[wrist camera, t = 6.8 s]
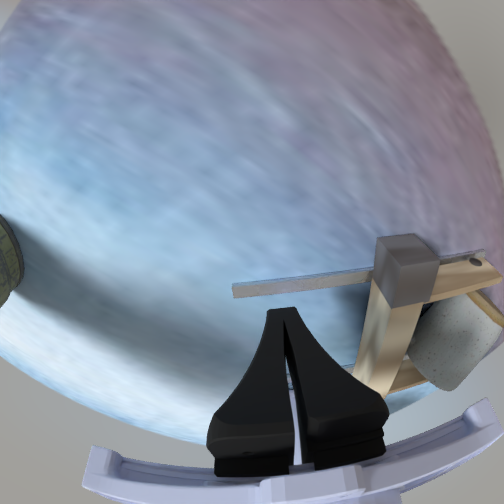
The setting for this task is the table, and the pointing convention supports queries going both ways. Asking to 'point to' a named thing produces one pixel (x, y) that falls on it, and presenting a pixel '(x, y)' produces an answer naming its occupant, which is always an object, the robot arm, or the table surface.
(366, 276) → the track
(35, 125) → the table surface
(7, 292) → the thermos
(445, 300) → the ceramic mug
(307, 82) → the table surface
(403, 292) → the tan wooden bracket
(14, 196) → the table surface
